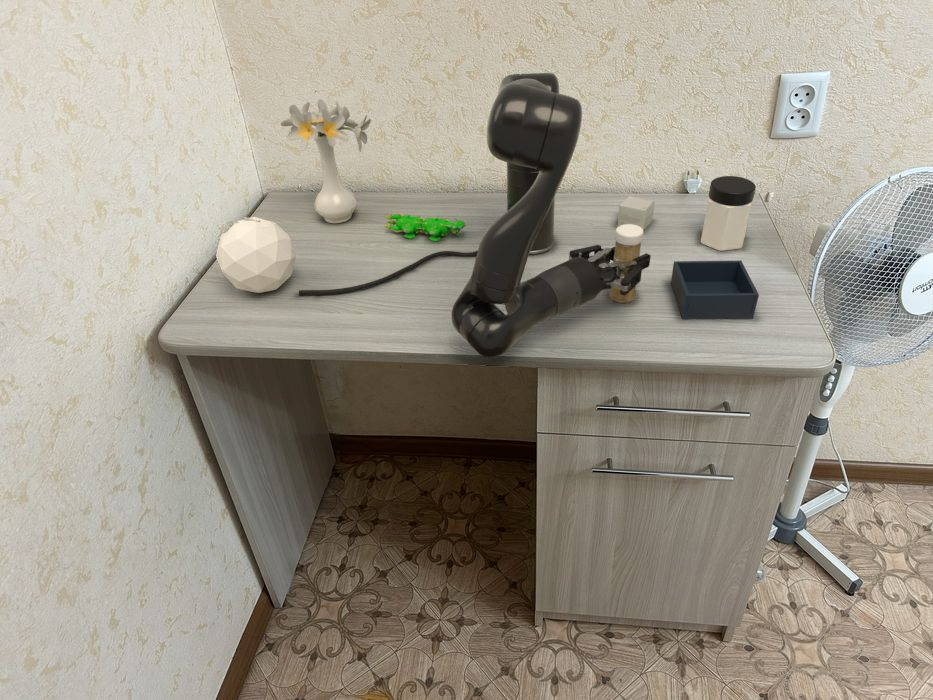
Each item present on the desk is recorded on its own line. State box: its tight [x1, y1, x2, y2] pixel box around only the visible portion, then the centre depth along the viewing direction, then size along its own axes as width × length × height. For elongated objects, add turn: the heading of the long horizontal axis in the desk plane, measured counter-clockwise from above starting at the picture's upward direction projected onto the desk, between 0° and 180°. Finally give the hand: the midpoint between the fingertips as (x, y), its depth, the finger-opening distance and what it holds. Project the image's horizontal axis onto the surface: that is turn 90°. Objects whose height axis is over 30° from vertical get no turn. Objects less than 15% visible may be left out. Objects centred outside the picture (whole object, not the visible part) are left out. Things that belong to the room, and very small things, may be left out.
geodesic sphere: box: [215, 215, 297, 294], centre depth 127 cm, size 15×14×14 cm
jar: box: [700, 175, 757, 252], centre depth 133 cm, size 9×8×12 cm
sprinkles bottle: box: [609, 224, 644, 304], centre depth 118 cm, size 5×5×13 cm
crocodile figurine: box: [383, 213, 467, 242], centre depth 144 cm, size 7×18×4 cm, turn 74°
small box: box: [617, 195, 655, 231], centre depth 143 cm, size 6×6×5 cm
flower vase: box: [280, 98, 372, 224], centre depth 146 cm, size 13×18×25 cm
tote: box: [670, 259, 760, 320], centre depth 119 cm, size 12×11×5 cm
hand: (637, 253), depth 119 cm, fingers closed on sprinkles bottle, 4 cm apart
